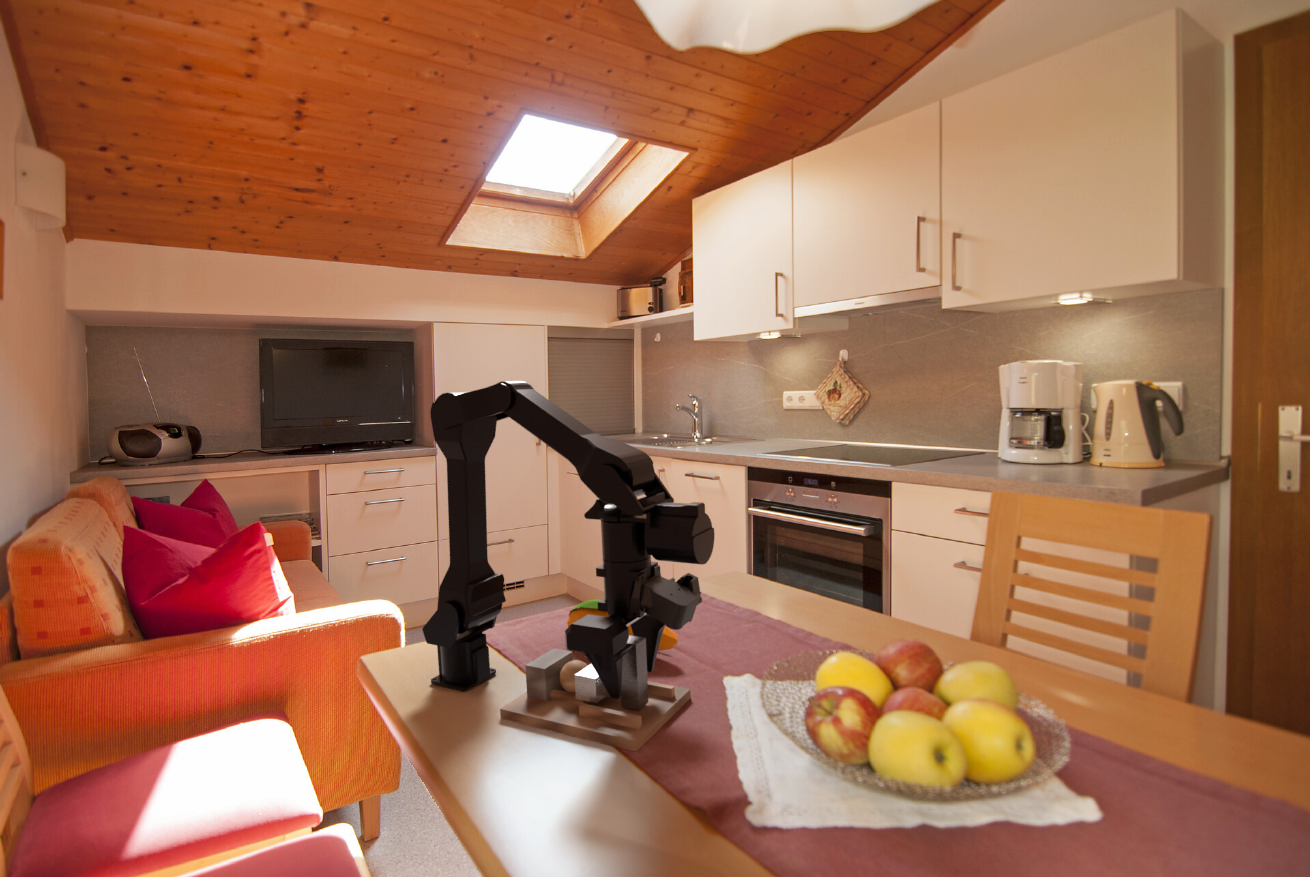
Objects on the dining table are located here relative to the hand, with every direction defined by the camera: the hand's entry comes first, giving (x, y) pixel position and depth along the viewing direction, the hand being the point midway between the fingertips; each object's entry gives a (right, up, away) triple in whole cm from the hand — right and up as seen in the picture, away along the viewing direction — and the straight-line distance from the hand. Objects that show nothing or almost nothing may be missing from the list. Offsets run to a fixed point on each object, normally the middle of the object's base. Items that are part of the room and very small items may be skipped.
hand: (632, 684), depth 84 cm
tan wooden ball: (-7, 0, +4) cm, 8 cm away
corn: (-2, -3, +21) cm, 22 cm away
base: (-4, -4, +3) cm, 7 cm away
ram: (-2, -2, +1) cm, 3 cm away
